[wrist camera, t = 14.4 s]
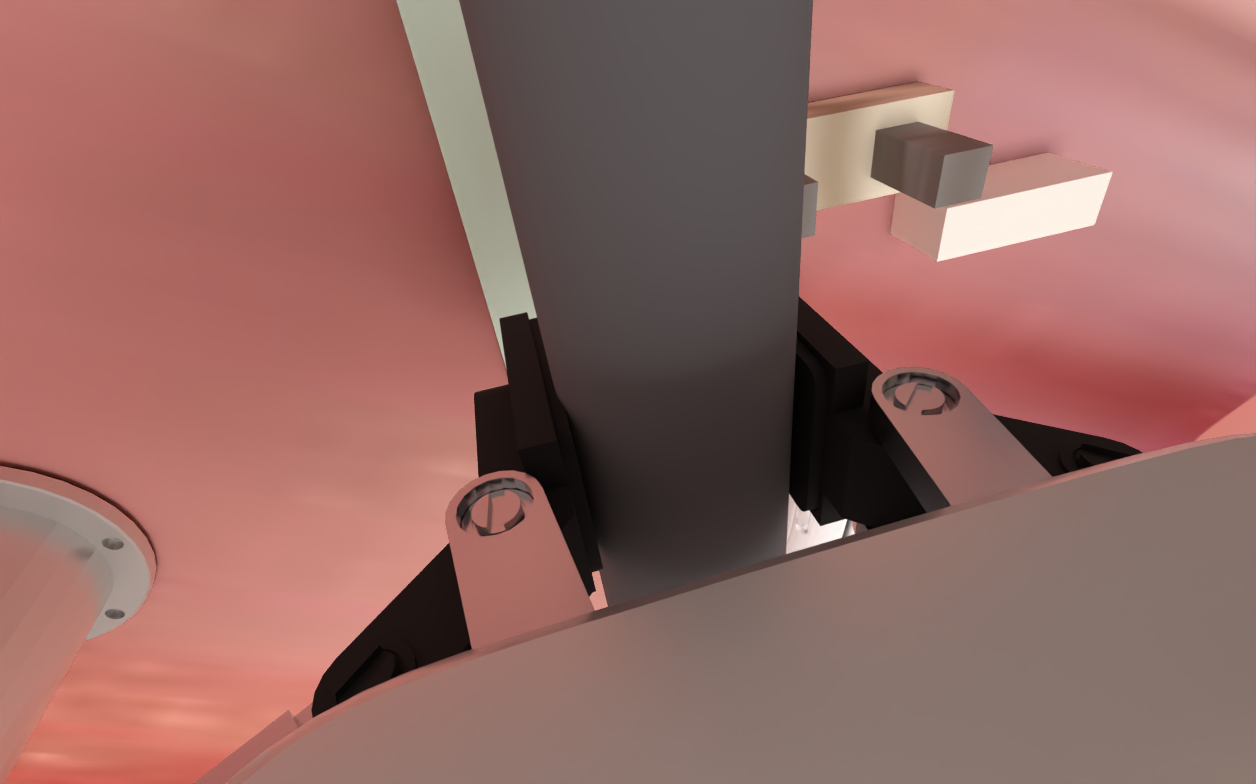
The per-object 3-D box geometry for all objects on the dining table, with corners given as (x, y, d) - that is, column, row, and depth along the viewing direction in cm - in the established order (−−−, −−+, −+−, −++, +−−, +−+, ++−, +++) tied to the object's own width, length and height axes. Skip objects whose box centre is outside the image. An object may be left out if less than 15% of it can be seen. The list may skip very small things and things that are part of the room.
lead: (733, 608, 17) (809, 732, 14) (613, 660, 16) (668, 802, 13) (701, -280, 7) (949, -480, 4) (373, -259, 6) (386, -490, 3)
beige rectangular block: (888, 233, 32) (936, 261, 29) (895, 184, 30) (947, 208, 27) (1031, 200, 33) (1094, 224, 30) (1045, 151, 31) (1112, 171, 28)
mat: (511, 384, 31) (512, 390, 31) (340, -191, 18) (337, -196, 18) (657, 349, 32) (660, 355, 32) (593, -221, 19) (597, -227, 19)
